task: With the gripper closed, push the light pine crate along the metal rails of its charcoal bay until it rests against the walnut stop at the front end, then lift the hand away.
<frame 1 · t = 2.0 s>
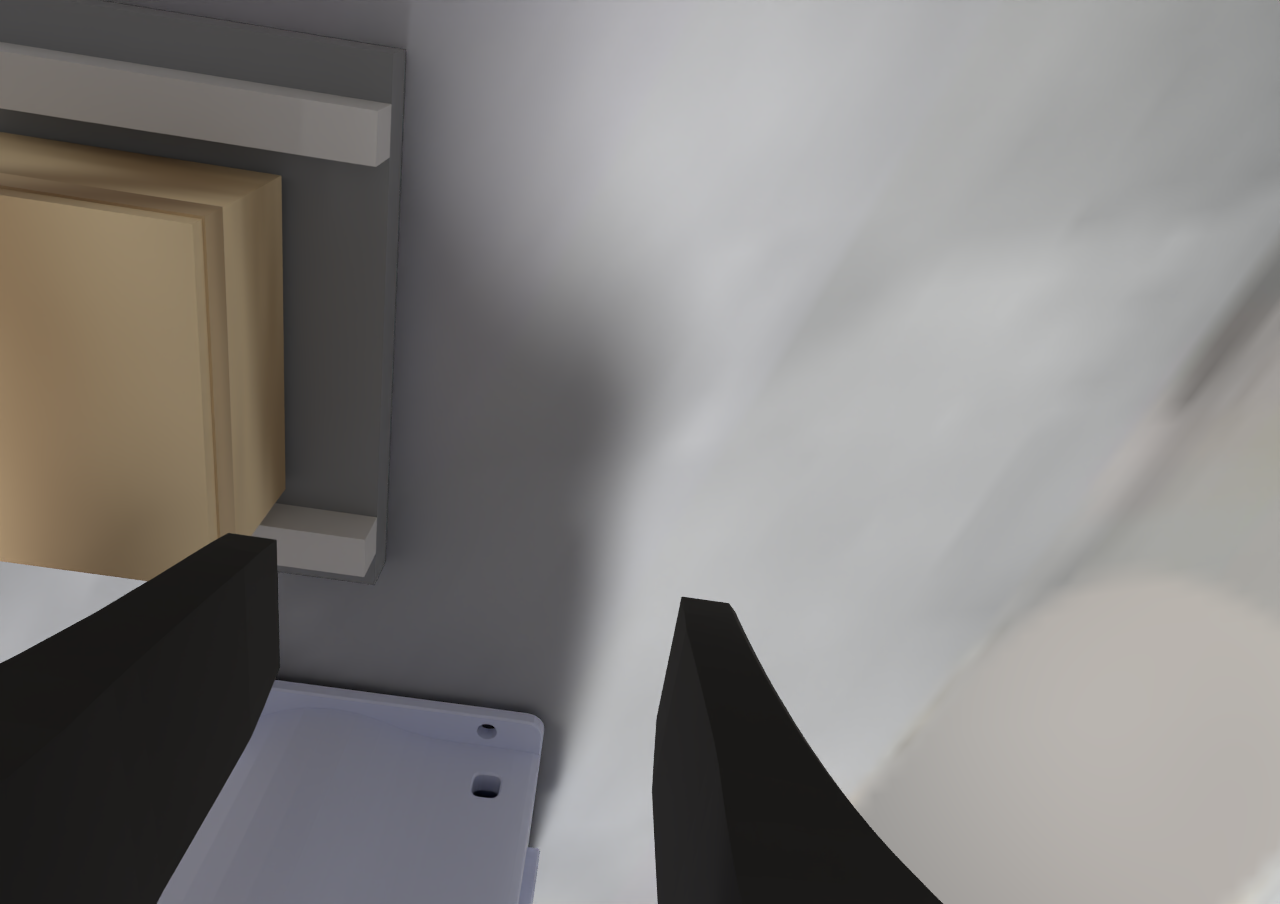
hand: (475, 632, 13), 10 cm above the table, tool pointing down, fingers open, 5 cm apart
bay: (5, 279, 21), on the table
crate: (88, 356, 19), point 3 cm above the table, slide at 7.2 cm
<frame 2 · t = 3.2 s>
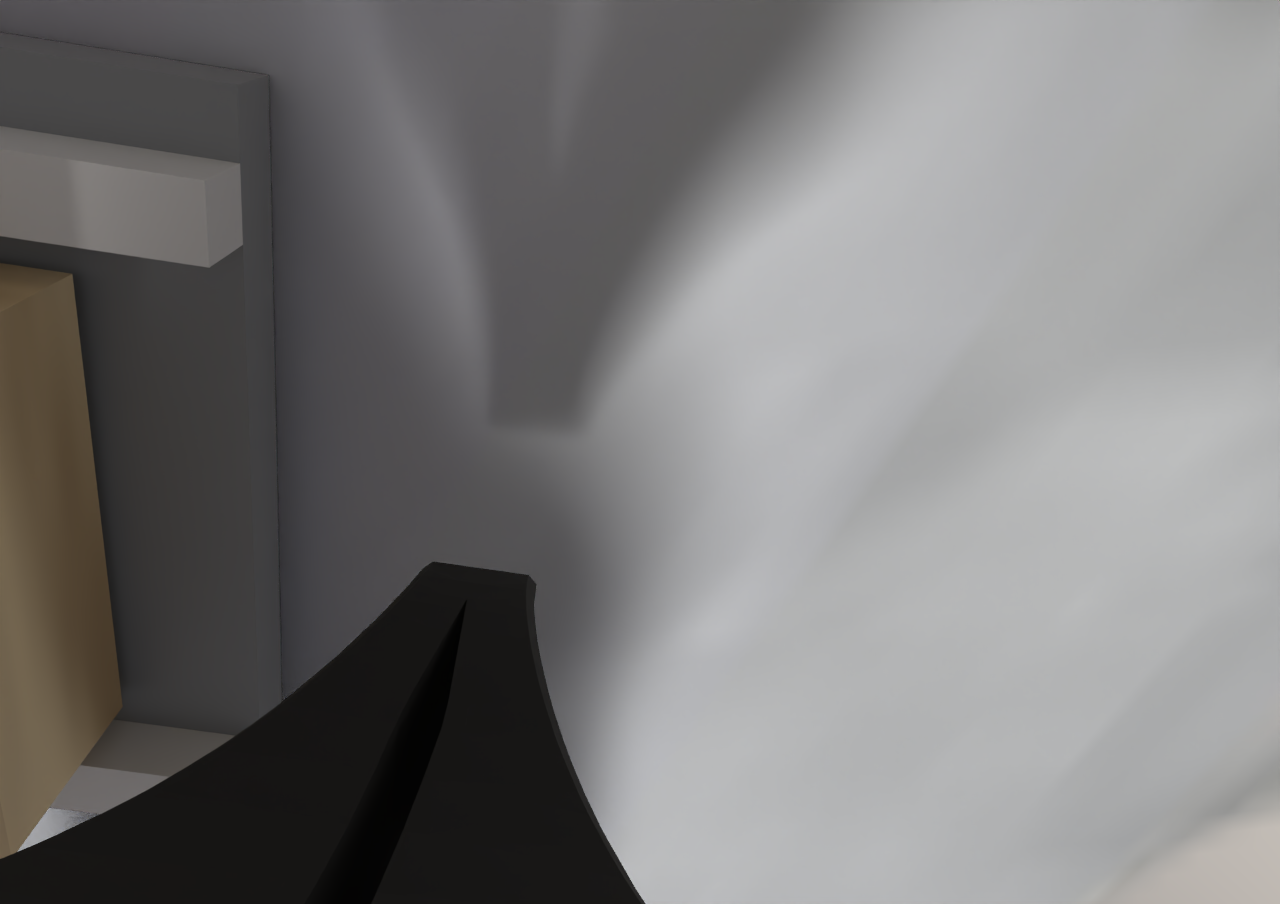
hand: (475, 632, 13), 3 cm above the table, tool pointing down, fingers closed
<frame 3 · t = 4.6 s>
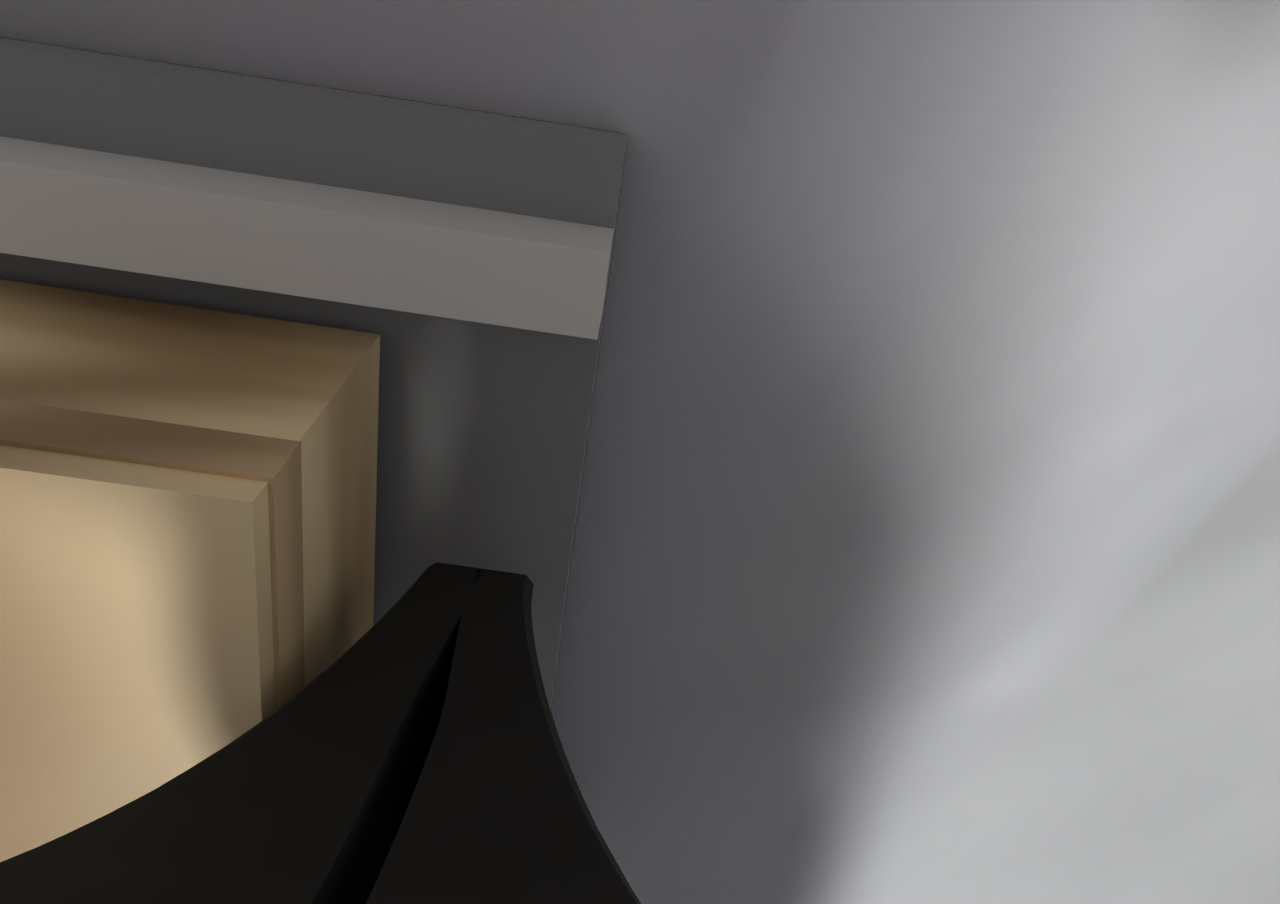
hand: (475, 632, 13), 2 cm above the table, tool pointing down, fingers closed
crate: (69, 638, 11), point 3 cm above the table, slide at 6.6 cm, touching gripper
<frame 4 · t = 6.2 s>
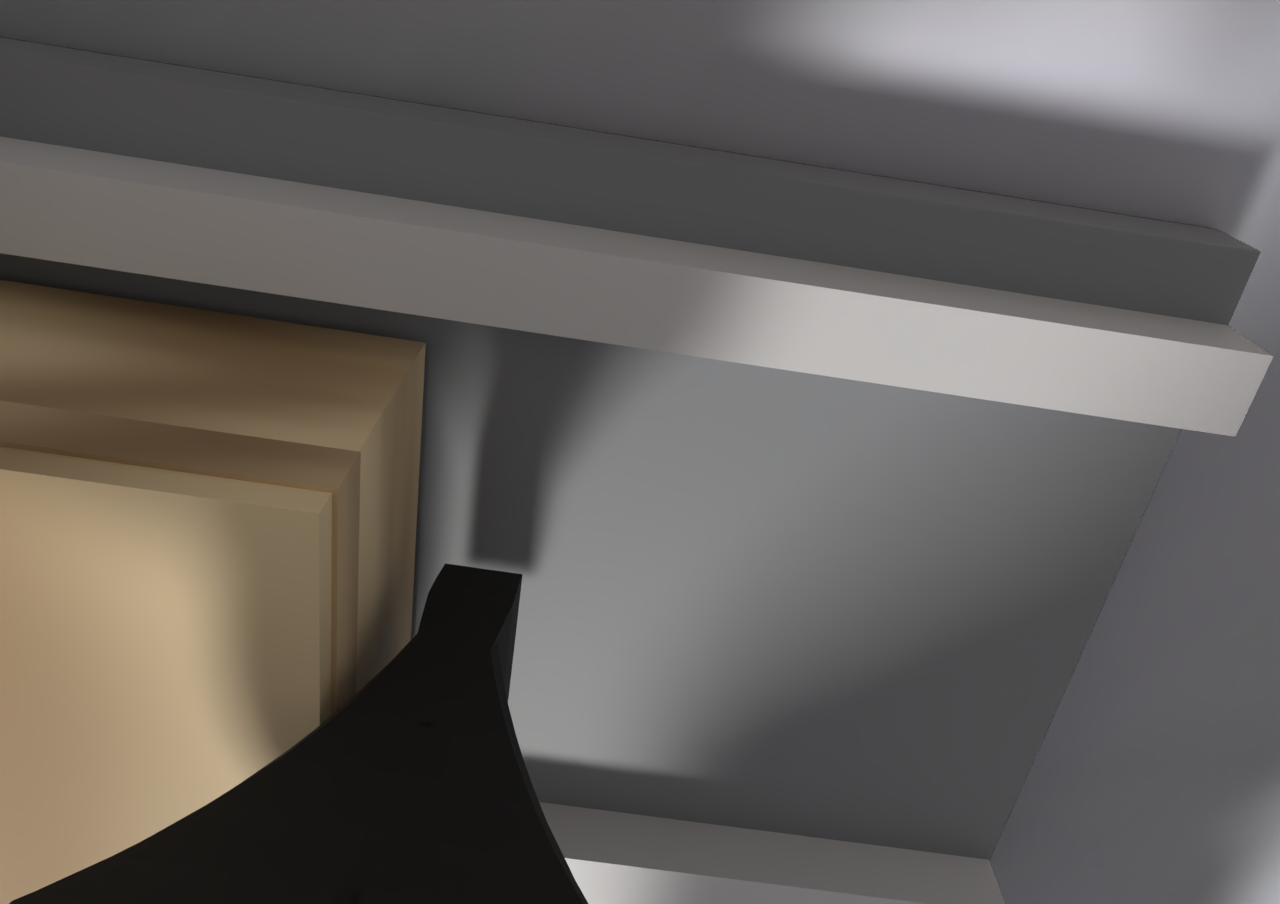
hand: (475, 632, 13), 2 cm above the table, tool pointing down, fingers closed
bay: (495, 540, 15), on the table
crate: (115, 645, 11), point 3 cm above the table, slide at -0.2 cm, touching gripper
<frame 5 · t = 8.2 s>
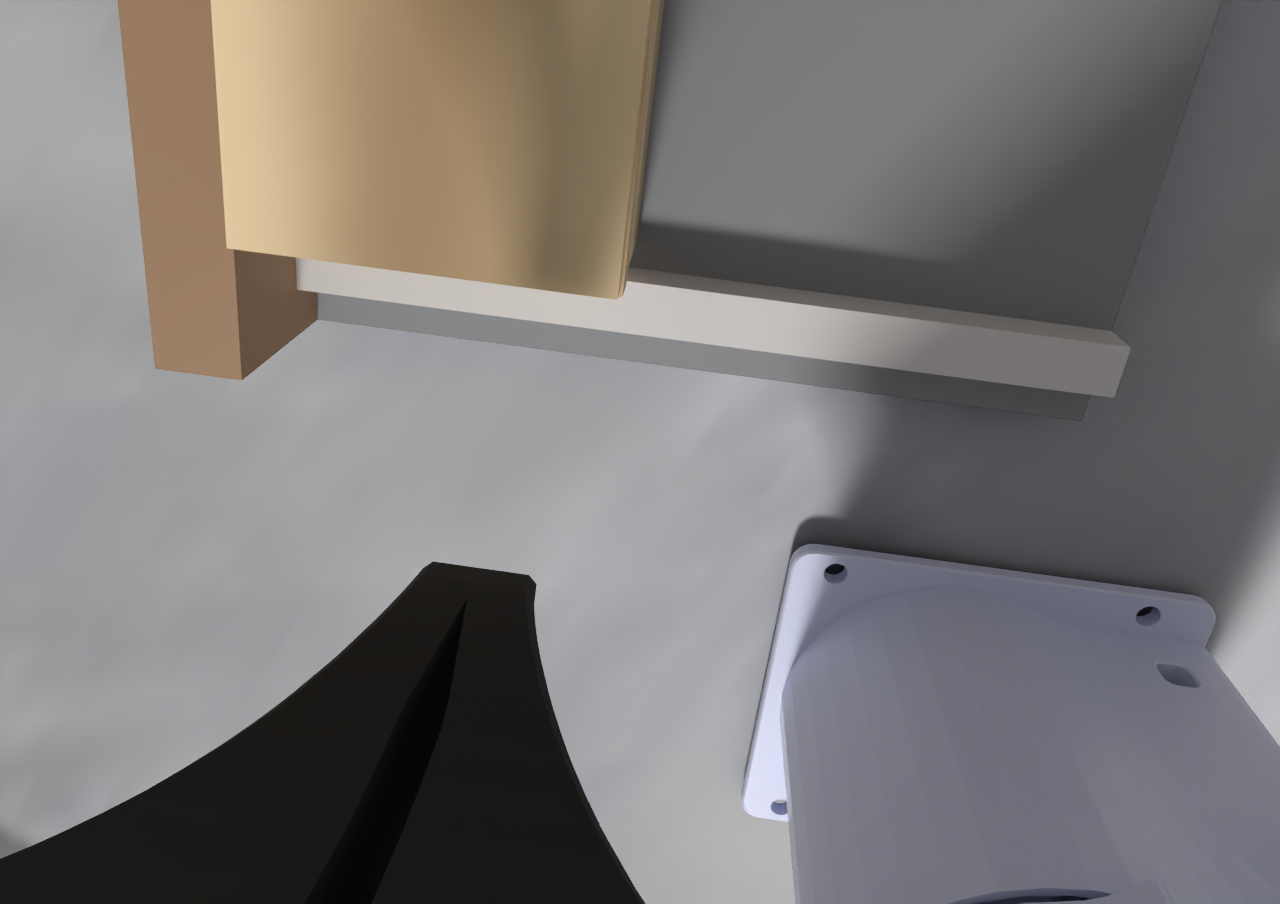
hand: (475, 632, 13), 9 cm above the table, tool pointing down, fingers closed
bay: (702, 42, 18), on the table
crate: (461, 20, 15), point 3 cm above the table, slide at 0.0 cm
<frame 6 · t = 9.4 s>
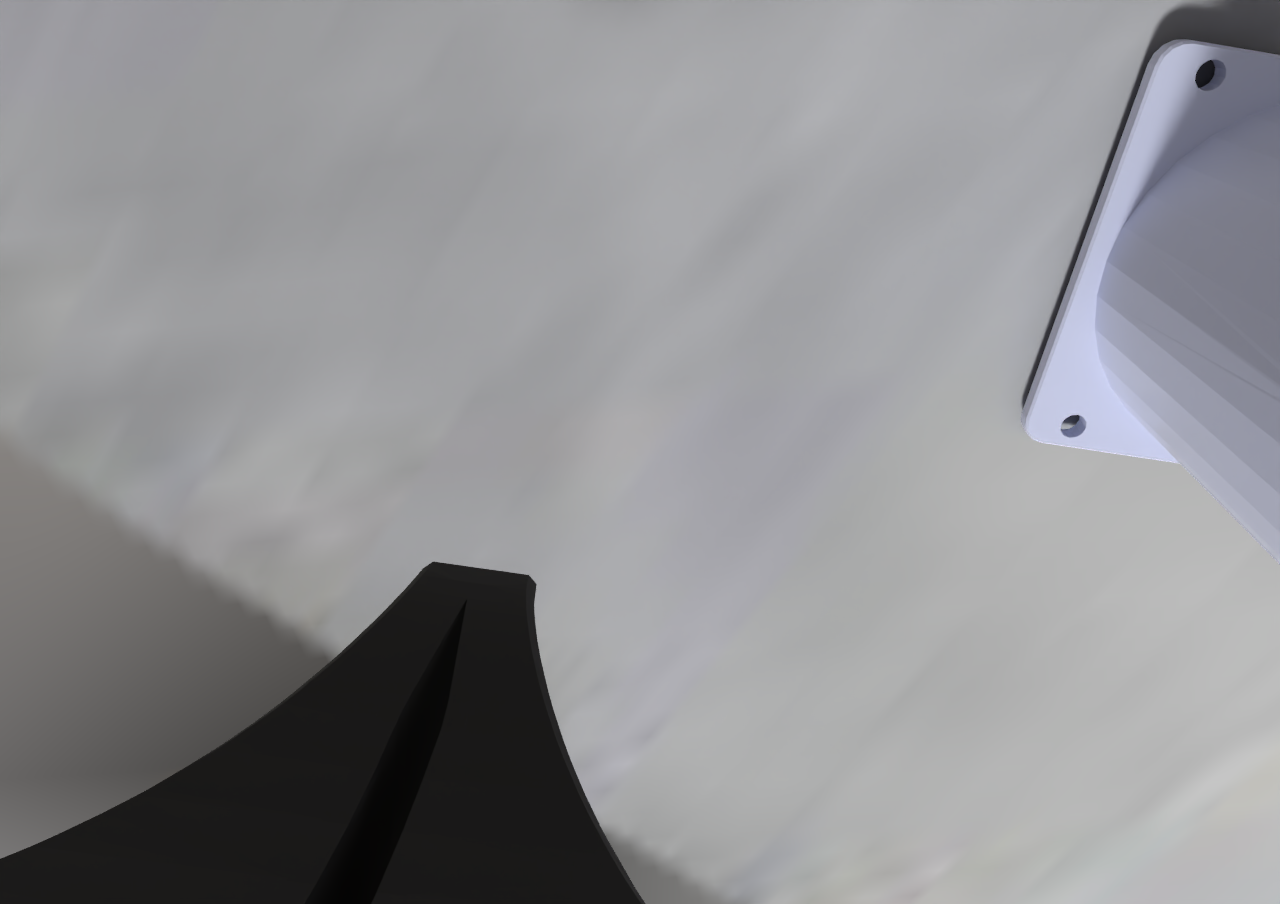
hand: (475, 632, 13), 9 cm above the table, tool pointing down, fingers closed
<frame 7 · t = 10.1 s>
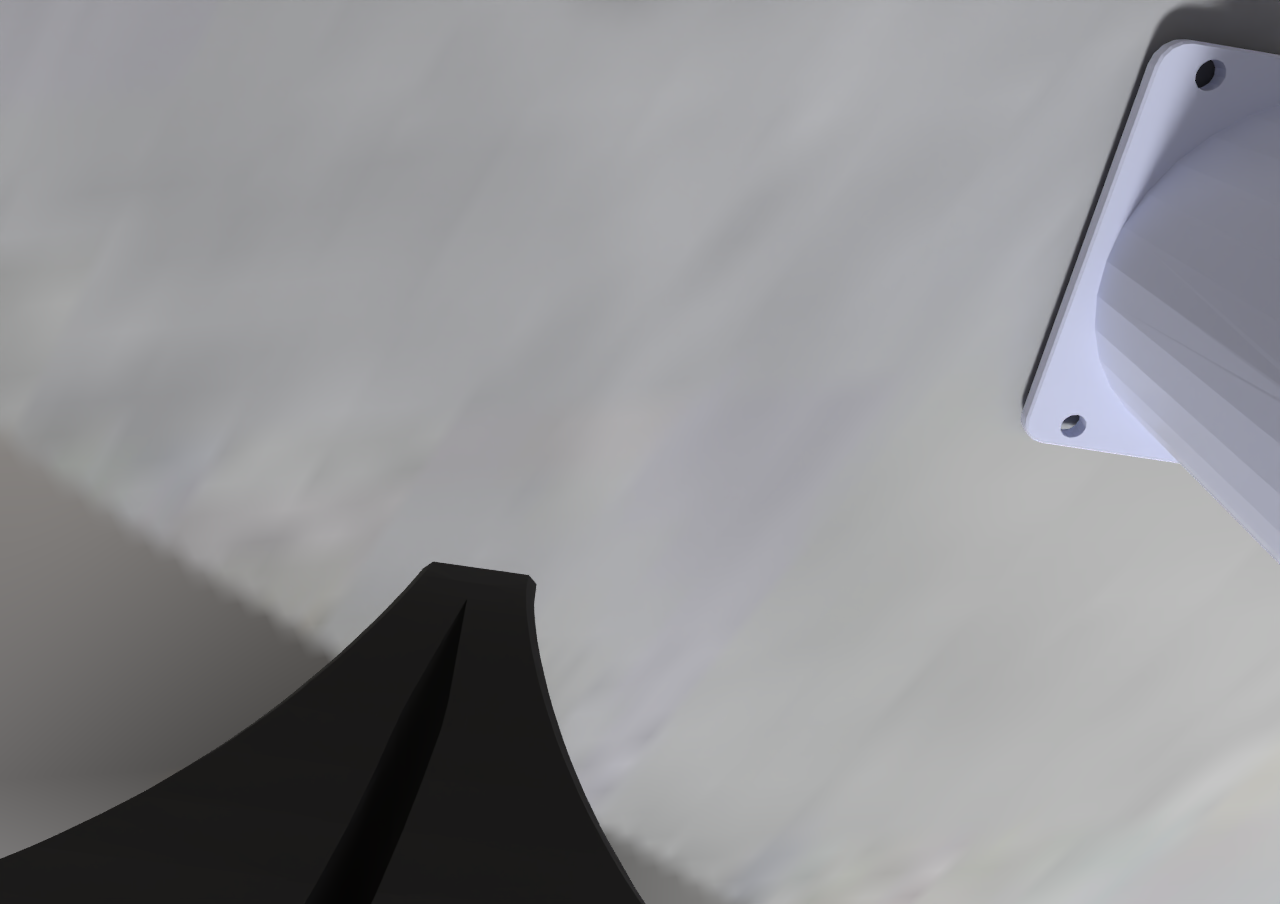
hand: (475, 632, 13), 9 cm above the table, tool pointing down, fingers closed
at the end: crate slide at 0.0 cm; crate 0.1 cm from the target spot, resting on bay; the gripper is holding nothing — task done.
